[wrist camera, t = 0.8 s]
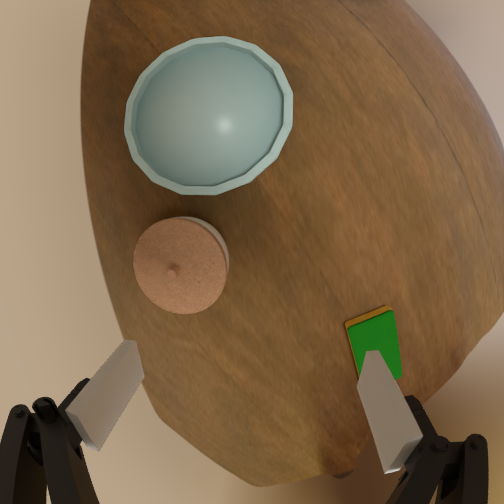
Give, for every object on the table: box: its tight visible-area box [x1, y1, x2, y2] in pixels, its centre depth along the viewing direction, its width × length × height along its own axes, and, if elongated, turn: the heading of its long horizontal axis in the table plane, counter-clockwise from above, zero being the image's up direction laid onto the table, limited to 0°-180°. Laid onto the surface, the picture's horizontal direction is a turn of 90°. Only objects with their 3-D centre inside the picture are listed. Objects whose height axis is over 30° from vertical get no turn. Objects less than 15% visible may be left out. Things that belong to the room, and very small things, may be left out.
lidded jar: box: [133, 216, 229, 314], centre depth 31 cm, size 11×11×9 cm
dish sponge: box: [345, 305, 402, 380], centre depth 37 cm, size 7×14×2 cm, turn 22°
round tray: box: [124, 36, 293, 195], centre depth 30 cm, size 21×21×2 cm
